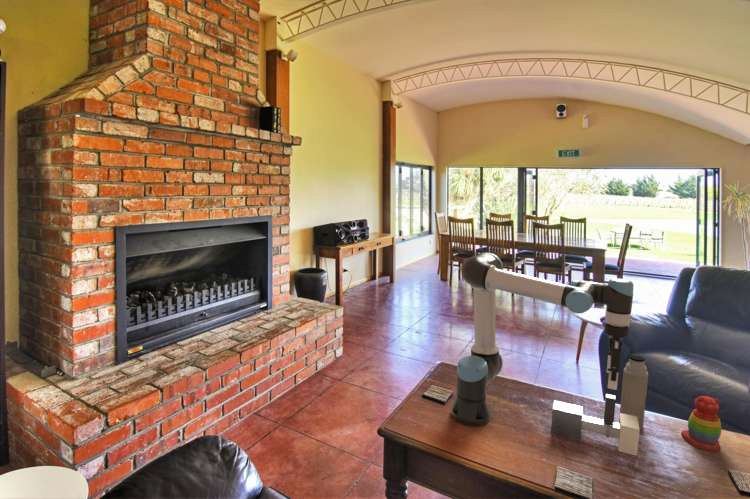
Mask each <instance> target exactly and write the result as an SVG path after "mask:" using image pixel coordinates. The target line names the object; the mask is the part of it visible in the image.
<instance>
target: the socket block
mask: <svg viewBox="0 0 750 499" xmlns="http://www.w3.org/2000/svg"><path fill="white" fill-rule="evenodd" d="M618 416H619V417H618V423H620V436H619V438H616V439H617V448H618V452H620V453H625V454H628V455H632V456H637V455H638V449H639V442H640V441H639V440H640V432H641V431H640V429H639V424H638V418H637V417H636V416H632V415H627V414H622V413H620V412H619V415H618Z"/></svg>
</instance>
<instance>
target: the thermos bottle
mask: <svg viewBox="0 0 750 499" xmlns="http://www.w3.org/2000/svg"><path fill="white" fill-rule="evenodd" d="M645 360H646V358H645V357H644V356H642V355H638V354H637V355H636V354H631V355H629V361H628V362H626V365H625V367H624V368H623V372H622V373H623V376H622V383H621V384H622V387H621V396H620V405H619V414H620V413H622V414H627V415H632V416H636V417H637V418H638V424H639V429H640V431H639V432H641V431H642V430H643V429H644V422H645V411H646V398H647V393H648V392H647V391H648V384H649V383H648V382H649V372H648V368H647V366H646V365H645Z"/></svg>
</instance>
